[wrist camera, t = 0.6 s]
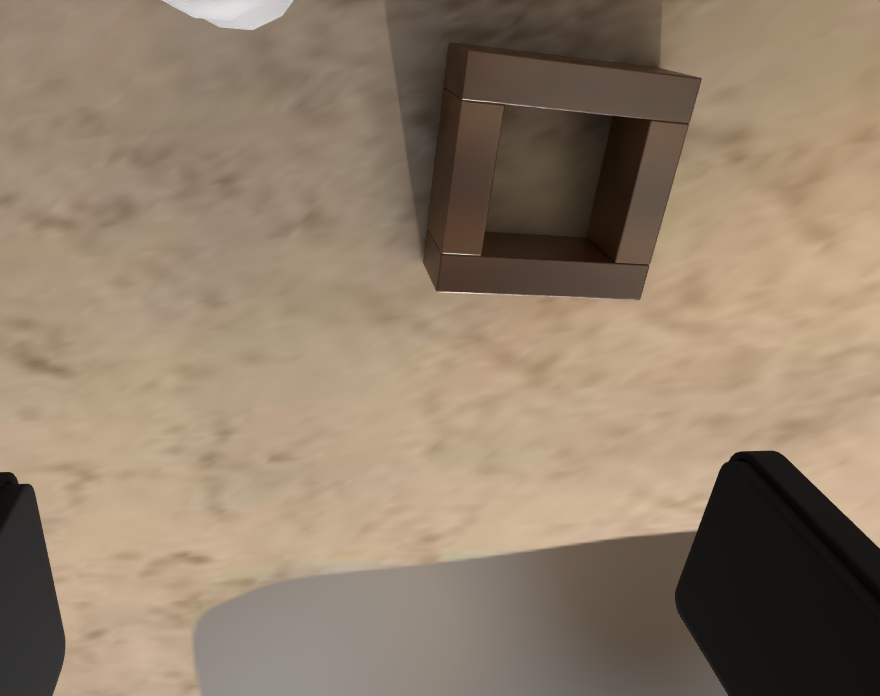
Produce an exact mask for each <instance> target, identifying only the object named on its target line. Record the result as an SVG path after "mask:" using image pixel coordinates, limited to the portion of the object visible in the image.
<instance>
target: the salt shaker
mask: <svg viewBox="0 0 880 696" xmlns="http://www.w3.org/2000/svg"><path fill="white" fill-rule="evenodd" d="M162 1H164V2H166V3H168V4H170V5H171V6H173V7H175V8H177V9H179V10H181V11H183V12H185V13H186V14H188V15H190V16H192V17H194V18H203V19H205V20H207V21H209V22H211V23H213V24H215V25H216V26H218V27H223V28H235V29H247V30H254V29H256V28H258V27H260V26H262V25H264V24H266V23H268V22H270V21H273V20H275V19H277V18H279V17H281V16H282V15H283V14H284V12H285V11H286V10H287V8H288V7H289V6H290V5H291V3H292V2H293V1H294V0H162Z"/></svg>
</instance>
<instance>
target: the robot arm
mask: <svg viewBox="0 0 880 696" xmlns="http://www.w3.org/2000/svg"><path fill="white" fill-rule="evenodd" d="M675 602H676V607H677V610H678V613H679V615H680V617H681V618H682V620H683V622H684V623H685V625H686V627H687V628H688V630H689V632H690V633H691V635H692V636H693V638H694V640H695V641H696V643H697V645H698V646H699V648H700V650H701V651H702V653H703V654H704V656H705V658H706V659H707V661H708V663H709V664H710V666H711V667H712V669H713V671H714V673H715V674H716V676H717V678H718V679H719V681H720V682H721V684H722V686H723V687H724V689H725V691H726V692H727V694H728V696H880V548H878V547H877V546H876V545H875V544H874V543H873V542H872V541H871V540H870V539H869V538H868V537H867V536H866V535H865V534H864V533H863V532H862V531H861V530H860V529H859V528H858V527H857V526H856V525H855V524H854V523H853V522H852V521H851V520H850V519H849V518H848V517H846V516H845V515H844V514H843V513H842V512H841V511H840V510H839V509H838V508H837V507H836V506H835V505H834V504H833V503H832V502H831V501H830V500H829V499H828V498H827V497H826V496H825V495H824V494H823V493H822V492H821V491H820V490H819V489H818V488H817V487H815V486H814V485H813V484H812V483H811V482H810V481H809V480H808V479H807V478H806V477H805V476H804V475H803V474H802V473H801V472H800V471H799V470H798V469H797V468H796V467H795V466H794V465H793V464H792V463H791V462H790V461H789V460H788V459H787V458H786V457H785V456H783V455H782V454H780V453H779V452H776V451H743V452H737V453H735V454H734V455H733V456H732V457H731V458H730V460H729V462H726V463H725V464H724V465H722V467H721V469H720V471H719V474H718V477H717V479H716V482H715V485H714V487H713V490H712V493H711V496H710V498H709V501H708V504H707V506H706V509H705V512H704V515H703V517H702V520H701V523H700V525H699V528H698V531H697V533H696V536H695V539H694V542H693V544H692V547H691V550H690V552H689V555H688V558H687V561H686V563H685V566H684V569H683V571H682V574H681V577H680V580H679V582H678V585H677V588H676V592H675ZM64 655H65V634H64V629H63V625H62V620H61V615H60V610H59V605H58V601H57V596H56V591H55V586H54V582H53V577H52V572H51V567H50V563H49V558H48V553H47V548H46V544H45V539H44V534H43V529H42V524H41V520H40V515H39V510H38V505H37V501H36V496H35V492H34V489H33V487H32V486H31V485H30V484H19V483H18V481H17V478H16V477H15V475H14V474H13V473H10V472H0V696H52V695H53V693H54V690H55V687H56V684H57V681H58V678H59V675H60V672H61V669H62V665H63V661H64Z"/></svg>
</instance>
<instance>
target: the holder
mask: <svg viewBox="0 0 880 696" xmlns="http://www.w3.org/2000/svg"><path fill="white" fill-rule="evenodd" d="M701 80H702V79H701V78H699V77H695V76H691V75H686V74H682V73H678V72H674V71H669V70H665V69H661V68H653V67H645V66H637V65H629V64H621V63H613V62H605V61H597V60H589V59H581V58H573V57H565V56H557V55H549V54H540V53H532V52H524V51H516V50H508V49H500V48H492V47H484V46H476V45H468V44H460V43H452V42H450V43H449V45H448V54H447V63H446V71H445V80H444V87H445V88H444V89H443V97H442V106H441V114H440V123H439V131H438V140H437V149H436V157H435V166H434V174H433V183H432V191H431V200H430V208H429V217H428V226H427V227H428V229H427V235H426V243H425V252H424V260H423V263H424V266H425V268H426V270H427V272H428V274H429V276H430V279H431V281H432V283H433V285H434V287H435V289H436V292H447V293H472V294H498V295H523V296H548V297H573V298H599V299H624V300H640V298H641V294H642V291H643V287H644V284H645V280H646V277H647V273H648V269H649V265H648V264H650V263H651V259H652V255H653V252H654V248H655V245H656V241H657V237H658V234H659V230H660V227H661V223H662V219H663V216H664V212H665V209H666V205H667V201H668V198H669V194H670V191H671V187H672V183H673V180H674V176H675V173H676V169H677V166H678V162H679V158H680V155H681V151H682V148H683V144H684V140H685V137H686V133H687V130H688V126H689V124H688V123H690V119H691V116H692V112H693V108H694V105H695V101H696V98H697V94H698V91H699V87H700V83H701ZM504 104H507V105H516V106H526V107H535V108H545V109H554V110H564V111H574V112H583V113H593V114H602V115H612V116H613V120H612V125H611V129H610V134H609V138H608V142H607V147H606V151H605V156H604V160H603V164H602V169H601V173H600V177H599V182H598V186H597V191H596V195H595V199H594V204H593V208H592V212H591V217H590V221H589V226H588V230H587V234H586V238H579V237H562V236H546V235H529V234H513V233H496V232H485V228H486V222H487V215H488V209H489V203H490V196H491V190H492V184H493V177H494V171H495V165H496V158H497V152H498V145H499V139H500V133H501V126H502V120H503V114H504V107H505V105H504Z"/></svg>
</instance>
